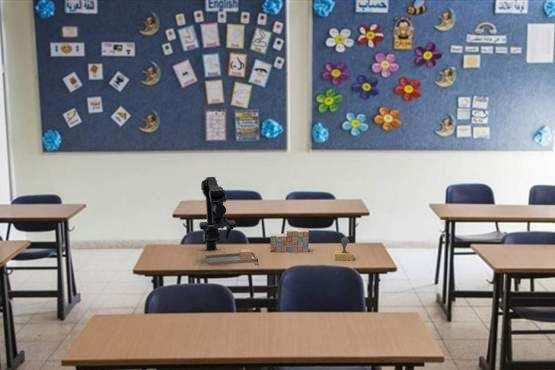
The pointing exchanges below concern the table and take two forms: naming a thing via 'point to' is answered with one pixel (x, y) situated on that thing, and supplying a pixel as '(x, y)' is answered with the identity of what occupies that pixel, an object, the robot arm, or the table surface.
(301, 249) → the stack of blocks
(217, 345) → the table surface
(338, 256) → the rubber stamp
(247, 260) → the box
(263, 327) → the table surface
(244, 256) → the terracotta block
